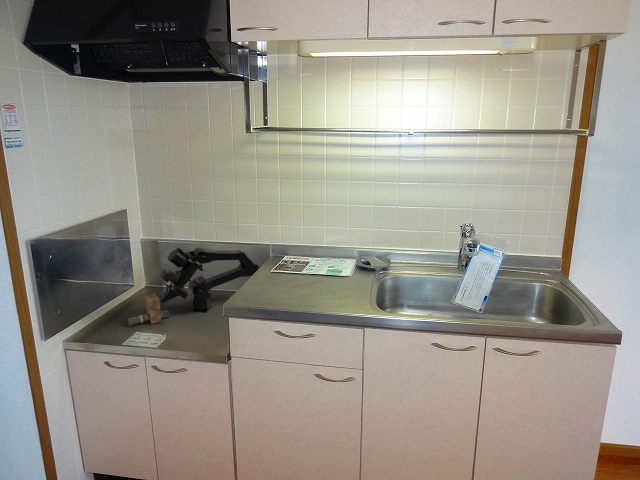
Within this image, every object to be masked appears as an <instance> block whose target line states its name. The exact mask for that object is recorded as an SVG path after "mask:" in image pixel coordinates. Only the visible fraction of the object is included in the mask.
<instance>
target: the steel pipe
mask: <svg viewBox="0 0 640 480" xmlns="http://www.w3.org/2000/svg"><path fill="white" fill-rule="evenodd" d="M160 312H161V319H165V318H169V317H170V311H169V310H168V309H167V310H160ZM127 321H128V325H129V326H135V325H140V324H144V323H147V322H150V315H149V314H147V313H146V314H141V315H138V316H133V317H129V318H127Z"/></svg>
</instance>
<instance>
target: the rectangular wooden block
mask: <svg viewBox="0 0 640 480" xmlns="http://www.w3.org/2000/svg"><path fill="white" fill-rule="evenodd" d="M144 300H145V307H146V311H145V312H146V315H147V314H149V315H150V321H149V322H150V323H151V324H156V323H161V322H162V318H161V312H160V311H161V303H160V302H161V300H160V298H159V297H158V296H157V294H156V293H149V294H145V295H144Z"/></svg>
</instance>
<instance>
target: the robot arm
mask: <svg viewBox="0 0 640 480" xmlns="http://www.w3.org/2000/svg"><path fill="white" fill-rule="evenodd" d="M167 261H168V262H170V263H171V264H173V265H174V266H175V267H177V268H180V269H177V270H175V271H171V270H167V269H164V268H163V269H161V273H160V275H159V276H160V277H161V279H162V281H165V282H167V283H164V285H165V290H164V293H163V295H162V297H161V300H160V302H161V303H162V304H165V303H166V302H168V301H170V300H172V299H174V298H176V297H181V298H182V299H184V300H186V299H187V297H188V296H189V293H188V292H187V290H186V289H185V285H186V284H187V283H188V282H189V283H188V286H187V287H188V288H187V289H188V290H189V292H190V293H191V294H192V296H193V299H192V305H193V306H192V307H193V309H192V312H197V313H204V314H205V313H207V312H208V311H209V310H211V308H212V307H213V306H212V305H211V296H212V294H211V293H210V291H211V290H212V289H213V288H215V287H218V286H221V285H223V284H226V283H230V282H232V281H234V280H236V279H240V278H242V277H243V278H248V277H249V278H250V277H253V276H252V275H253V274H254V273H255V272H256V271H257V270H258V269H259V270H260V266H259V265H258V264H257V263H256V262H254V261H252V260H251V258H250V257H249V256H247V255H246V253H245V252H244V251H242V250H241V249H238V250H214V249H209V248H203V247H196V248H195V249H194V250H192V251H187V252H184V251H183V250H182V249H181V247H180V246H179V247H177V248H176V249H174V250H172V251H171V252H169V254H168V255H167ZM214 261H238V262H239V265H238V266H237V267H235V268H233V269H230V270H226V271H224V272H221V273H219V274H216V275H214V276H210V277H207V278H205V277H204V276H202V275H200V276H198V277H196V278H195V277H194V278H192V277H193V276H194V275H195V273H196V272H197V271H200V272H204V268H203V266H204V265H203V264H209V263H212V262H214ZM191 278H192V280H191Z"/></svg>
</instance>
